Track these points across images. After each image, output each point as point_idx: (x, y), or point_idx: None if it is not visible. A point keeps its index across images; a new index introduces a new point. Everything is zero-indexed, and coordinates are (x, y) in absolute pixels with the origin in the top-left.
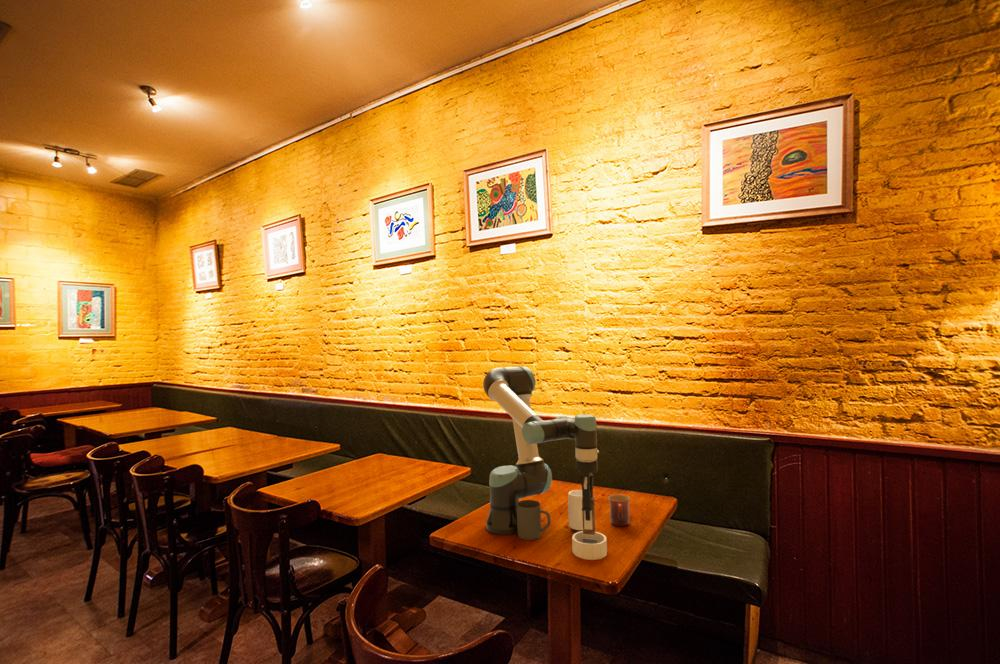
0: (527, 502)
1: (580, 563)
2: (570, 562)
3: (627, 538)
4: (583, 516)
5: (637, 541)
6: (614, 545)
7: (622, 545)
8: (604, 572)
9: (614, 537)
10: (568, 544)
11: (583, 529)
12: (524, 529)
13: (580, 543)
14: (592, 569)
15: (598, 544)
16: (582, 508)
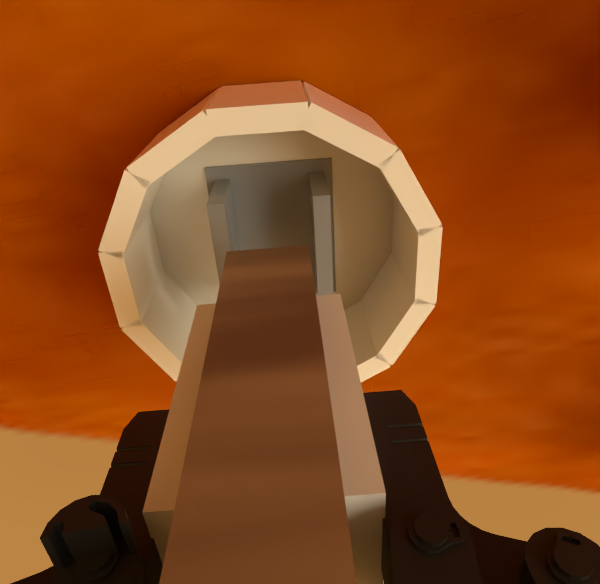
0: None
1: (52, 196)
2: (23, 114)
3: (554, 408)
4: (202, 392)
5: (512, 455)
6: (431, 357)
7: (440, 396)
8: (18, 359)
9: (567, 340)
10: (377, 4)
11: (221, 281)
12: None
13: (107, 226)
14: (12, 290)
15: (164, 367)
16: (93, 539)
